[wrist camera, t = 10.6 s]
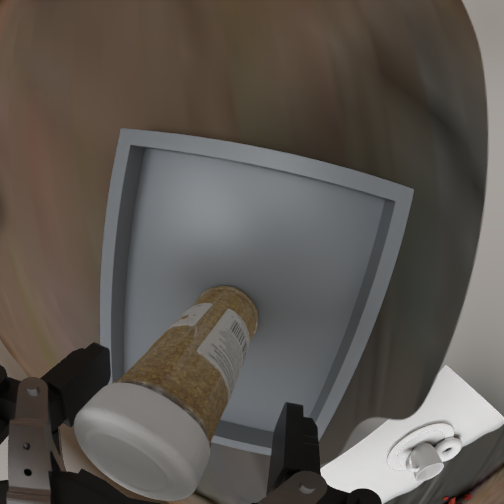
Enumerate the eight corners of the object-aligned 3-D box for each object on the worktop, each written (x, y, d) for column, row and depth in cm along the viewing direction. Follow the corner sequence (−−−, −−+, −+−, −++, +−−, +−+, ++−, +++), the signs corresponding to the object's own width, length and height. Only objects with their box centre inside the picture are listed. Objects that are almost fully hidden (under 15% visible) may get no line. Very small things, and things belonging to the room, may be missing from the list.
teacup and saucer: (465, 433, 21) (478, 455, 17) (414, 474, 23) (421, 497, 19) (430, 411, 21) (444, 438, 17) (371, 457, 23) (377, 486, 19)
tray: (142, 135, 19) (120, 128, 16) (396, 189, 18) (414, 189, 15) (119, 384, 24) (105, 402, 21) (306, 437, 23) (306, 460, 20)
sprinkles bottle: (195, 280, 20) (53, 391, 7) (263, 289, 19) (190, 445, 6) (194, 340, 21) (88, 475, 7) (257, 351, 20) (198, 518, 7)
